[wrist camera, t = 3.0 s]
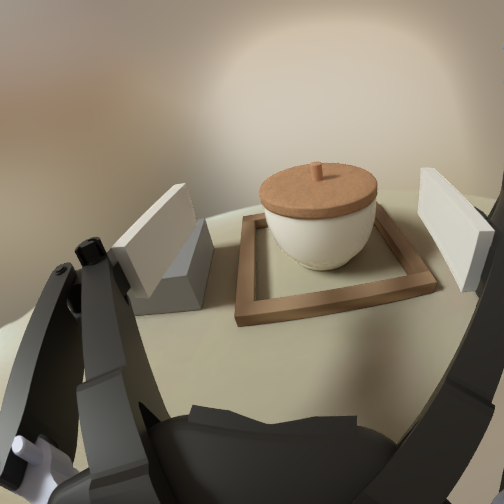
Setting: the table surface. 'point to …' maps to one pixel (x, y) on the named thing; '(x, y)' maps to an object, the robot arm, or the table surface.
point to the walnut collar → (329, 300)
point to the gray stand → (181, 278)
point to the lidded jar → (320, 212)
